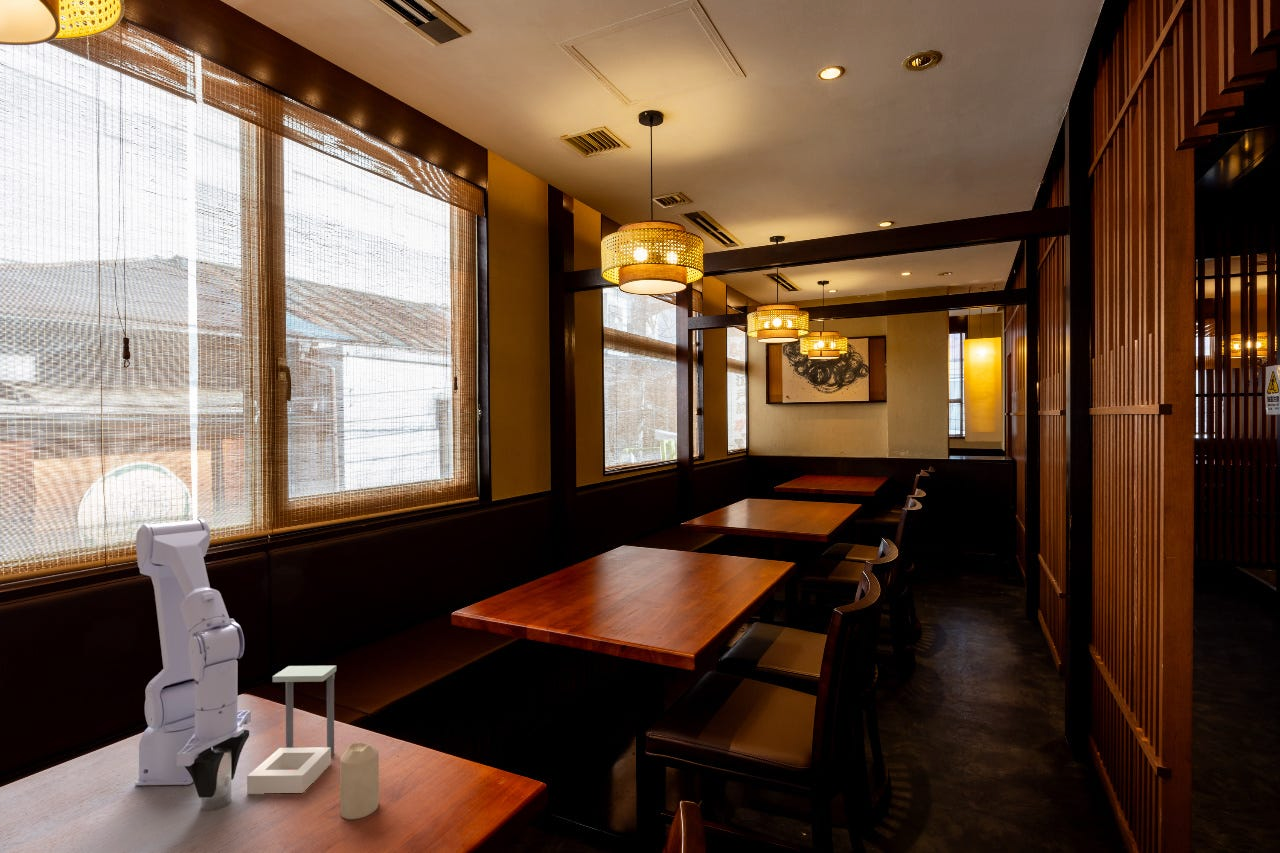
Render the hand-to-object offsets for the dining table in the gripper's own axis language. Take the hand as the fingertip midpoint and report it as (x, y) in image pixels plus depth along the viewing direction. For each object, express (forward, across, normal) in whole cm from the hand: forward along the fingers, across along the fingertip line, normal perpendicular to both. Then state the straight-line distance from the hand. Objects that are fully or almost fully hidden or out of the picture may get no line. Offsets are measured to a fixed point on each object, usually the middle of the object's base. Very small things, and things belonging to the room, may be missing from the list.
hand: (216, 787), depth 100 cm
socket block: (+2, +7, -8) cm, 11 cm away
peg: (+2, 0, 0) cm, 2 cm away
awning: (+2, +14, -7) cm, 15 cm away
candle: (+3, -2, -24) cm, 24 cm away
